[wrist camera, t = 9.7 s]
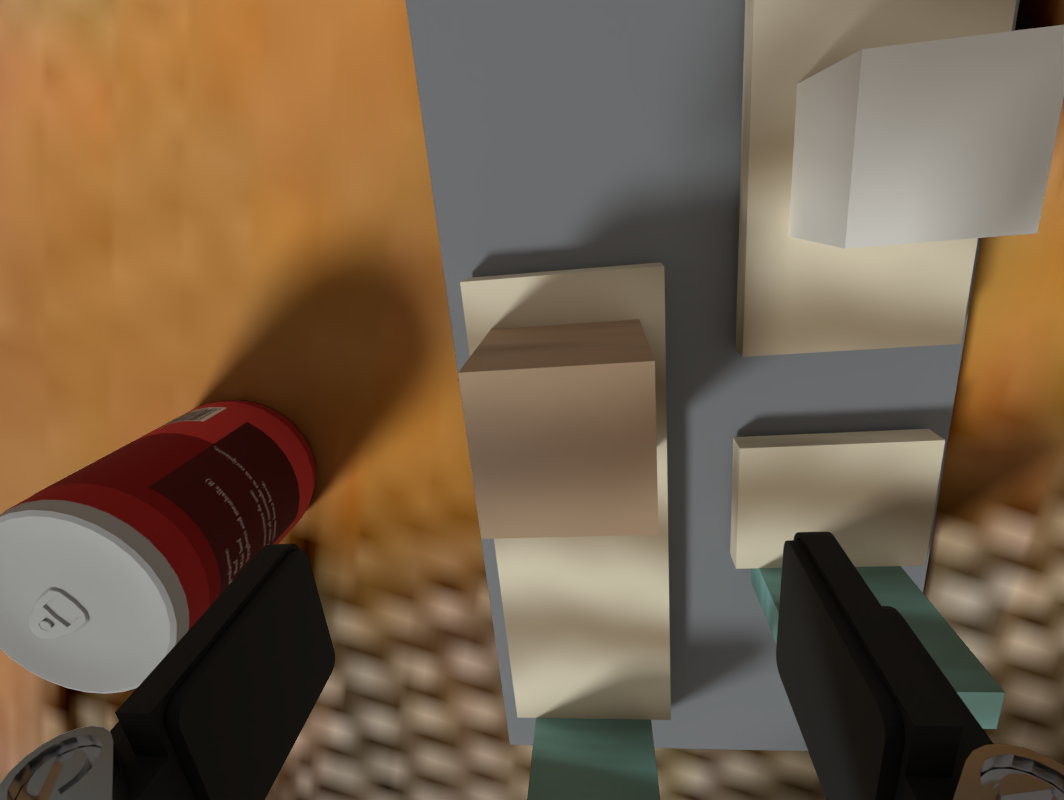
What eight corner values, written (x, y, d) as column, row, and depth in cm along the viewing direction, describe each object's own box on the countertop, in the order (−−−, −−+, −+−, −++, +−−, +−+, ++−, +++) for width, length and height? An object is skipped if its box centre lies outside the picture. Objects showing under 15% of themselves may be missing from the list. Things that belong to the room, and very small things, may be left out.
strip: (668, 723, 31) (692, 891, 24) (522, 720, 32) (501, 881, 25) (660, 262, 23) (694, 295, 15) (466, 278, 24) (408, 316, 16)
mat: (887, 736, 32) (896, 753, 31) (512, 729, 34) (510, 744, 33) (1013, -80, 19) (1034, -94, 18) (413, 6, 22) (405, -2, 21)
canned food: (156, 478, 31) (-66, 623, 20) (214, 363, 28) (-7, 462, 18) (280, 555, 31) (128, 731, 21) (347, 451, 29) (212, 594, 19)
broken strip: (906, 578, 27) (1028, 729, 19) (729, 581, 28) (780, 725, 20) (1001, -55, 19) (1278, -224, 11) (745, -20, 20) (841, -152, 12)
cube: (643, 456, 25) (658, 534, 19) (505, 462, 25) (481, 538, 20) (639, 319, 23) (655, 360, 17) (490, 329, 23) (457, 372, 18)
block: (935, 223, 20) (1037, 233, 16) (788, 236, 21) (844, 248, 16) (956, 65, 19) (1077, 22, 14) (797, 84, 19) (862, 48, 15)
